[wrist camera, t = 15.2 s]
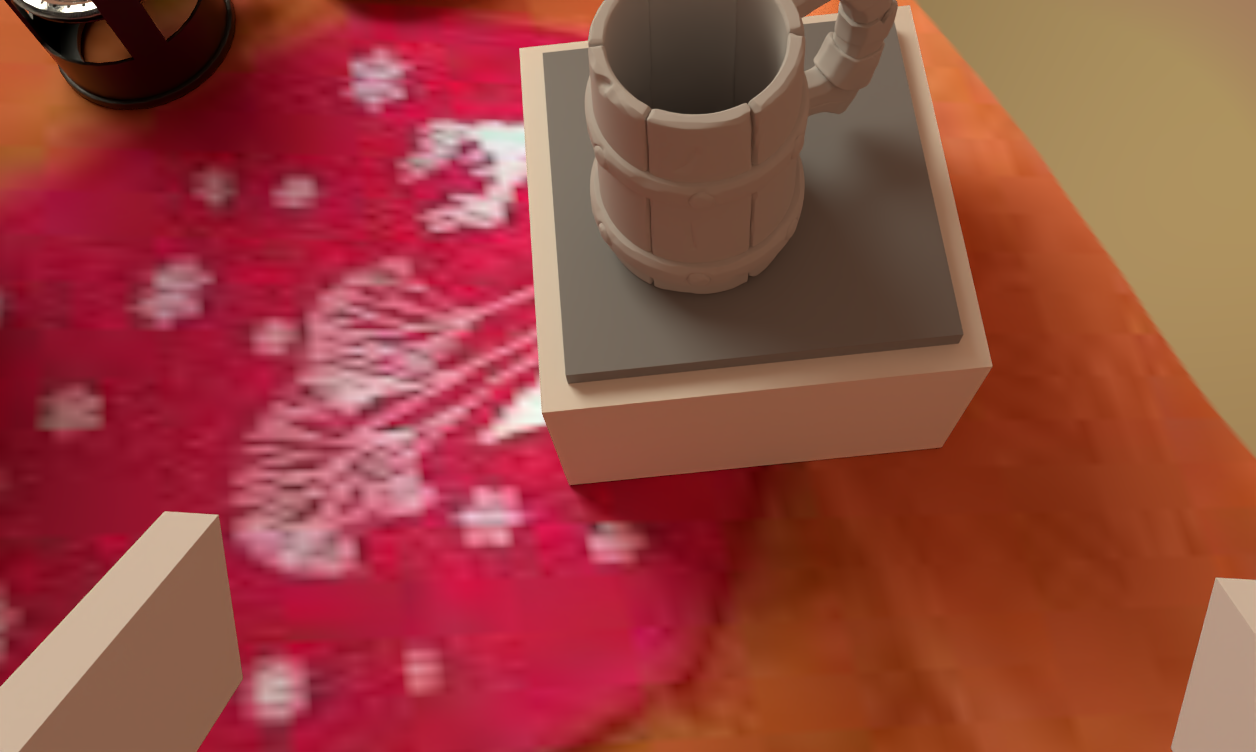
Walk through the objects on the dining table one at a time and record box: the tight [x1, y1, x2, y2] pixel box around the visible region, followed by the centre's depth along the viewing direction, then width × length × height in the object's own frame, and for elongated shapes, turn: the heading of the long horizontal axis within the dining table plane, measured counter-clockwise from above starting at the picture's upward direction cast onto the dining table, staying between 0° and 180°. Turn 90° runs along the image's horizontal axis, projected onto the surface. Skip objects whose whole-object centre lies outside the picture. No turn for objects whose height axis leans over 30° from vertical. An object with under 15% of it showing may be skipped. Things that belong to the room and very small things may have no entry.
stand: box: [519, 5, 993, 485], centre depth 47 cm, size 16×16×10 cm
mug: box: [585, 0, 898, 294], centre depth 36 cm, size 8×12×12 cm, turn 125°
